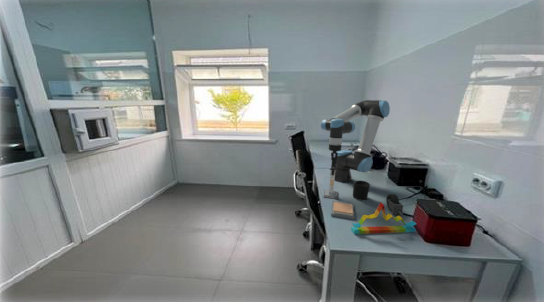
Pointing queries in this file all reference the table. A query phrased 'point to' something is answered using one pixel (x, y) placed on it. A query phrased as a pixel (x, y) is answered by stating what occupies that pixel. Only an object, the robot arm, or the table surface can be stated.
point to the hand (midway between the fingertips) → (332, 176)
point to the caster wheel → (394, 204)
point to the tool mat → (331, 197)
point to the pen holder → (360, 190)
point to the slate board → (342, 214)
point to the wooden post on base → (331, 190)
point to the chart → (382, 229)
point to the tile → (343, 209)
